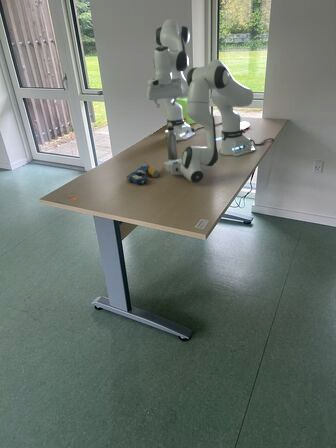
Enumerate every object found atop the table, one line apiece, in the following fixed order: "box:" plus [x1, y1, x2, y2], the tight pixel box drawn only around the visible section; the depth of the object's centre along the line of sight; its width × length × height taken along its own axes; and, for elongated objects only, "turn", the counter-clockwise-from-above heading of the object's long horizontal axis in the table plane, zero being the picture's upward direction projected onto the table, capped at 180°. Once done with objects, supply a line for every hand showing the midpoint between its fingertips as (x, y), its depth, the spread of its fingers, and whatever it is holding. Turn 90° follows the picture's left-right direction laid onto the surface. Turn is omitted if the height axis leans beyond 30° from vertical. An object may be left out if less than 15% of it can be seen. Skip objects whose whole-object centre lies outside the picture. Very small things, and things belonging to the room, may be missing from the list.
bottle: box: [166, 130, 179, 160], centre depth 199 cm, size 6×6×22 cm
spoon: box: [240, 120, 251, 130], centre depth 250 cm, size 35×11×2 cm, turn 159°
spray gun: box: [125, 164, 160, 185], centre depth 188 cm, size 21×4×15 cm
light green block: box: [176, 98, 197, 126], centre depth 283 cm, size 25×21×23 cm
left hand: (165, 106), depth 190 cm, fingers open, 8 cm apart
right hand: (177, 159), depth 196 cm, fingers open, 8 cm apart
